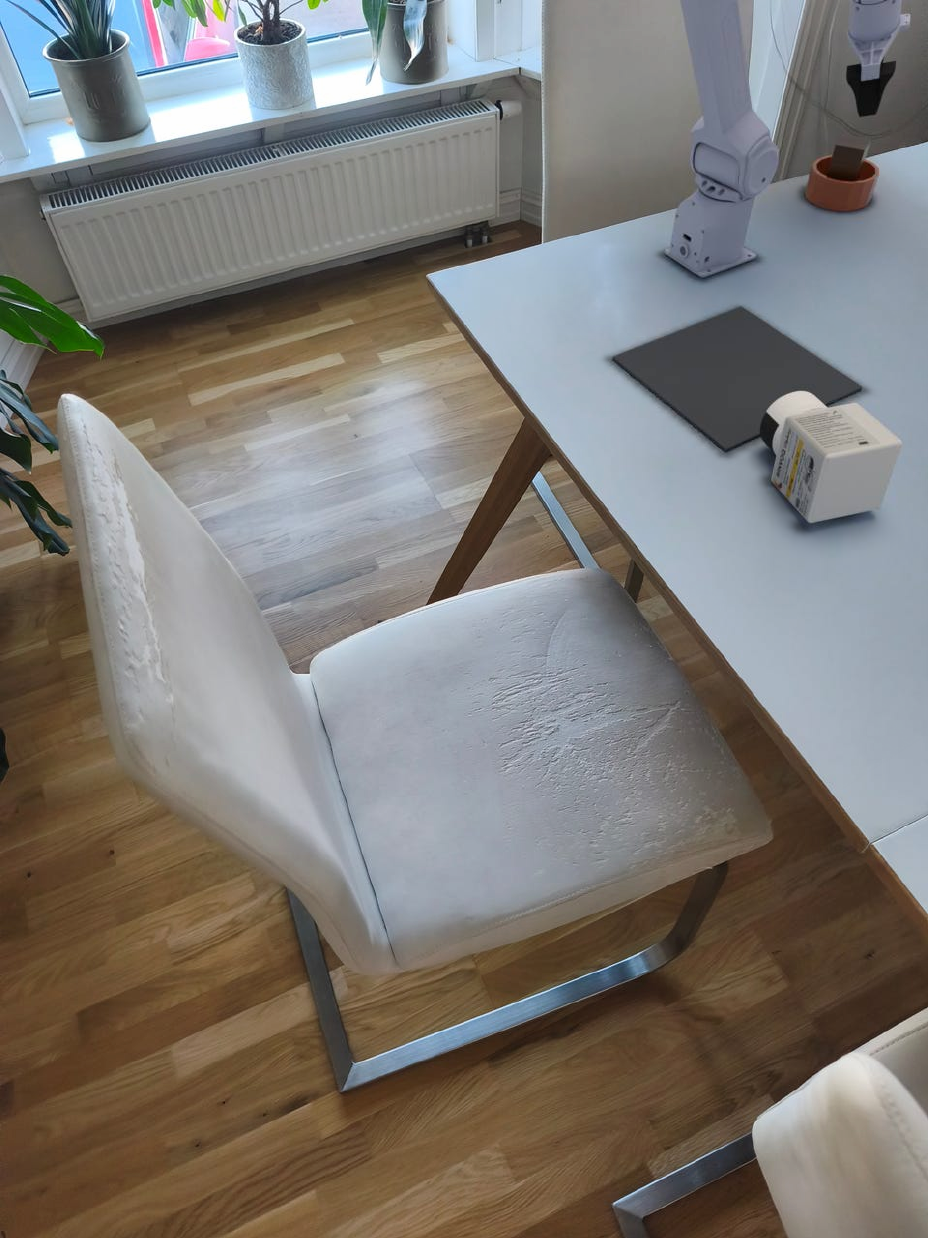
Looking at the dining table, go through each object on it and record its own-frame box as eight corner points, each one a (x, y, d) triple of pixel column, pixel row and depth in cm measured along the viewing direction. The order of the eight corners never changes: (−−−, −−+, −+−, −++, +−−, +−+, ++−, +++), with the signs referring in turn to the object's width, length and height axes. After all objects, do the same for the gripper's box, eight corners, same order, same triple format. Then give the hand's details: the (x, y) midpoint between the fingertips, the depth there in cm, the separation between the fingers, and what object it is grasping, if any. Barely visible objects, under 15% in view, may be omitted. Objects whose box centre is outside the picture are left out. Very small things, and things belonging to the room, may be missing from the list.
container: (808, 525, 82) (744, 454, 91) (881, 509, 83) (811, 441, 92) (827, 457, 76) (757, 388, 85) (905, 441, 77) (827, 375, 86)
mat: (725, 451, 90) (726, 448, 90) (612, 359, 101) (612, 356, 101) (861, 389, 96) (862, 386, 96) (740, 308, 107) (741, 305, 107)
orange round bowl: (837, 217, 121) (846, 188, 118) (791, 192, 126) (799, 164, 123) (883, 200, 124) (893, 171, 121) (836, 176, 129) (844, 149, 126)
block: (848, 200, 123) (865, 149, 117) (820, 195, 124) (835, 144, 119) (855, 189, 125) (871, 138, 119) (828, 184, 126) (842, 133, 121)
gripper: (912, 21, 98) (900, 127, 109) (916, -59, 103) (905, 50, 114) (845, 34, 100) (840, 135, 112) (852, -45, 105) (847, 60, 117)
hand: (869, 93), depth 113 cm, fingers open, 7 cm apart
